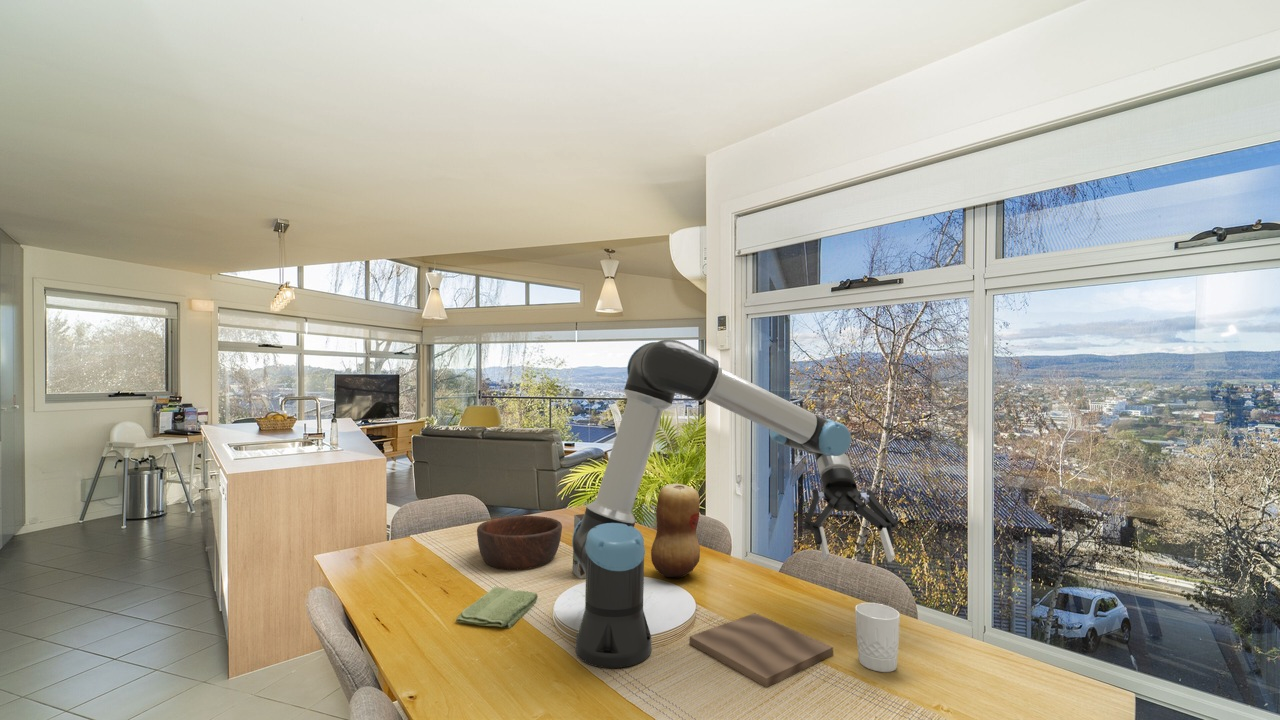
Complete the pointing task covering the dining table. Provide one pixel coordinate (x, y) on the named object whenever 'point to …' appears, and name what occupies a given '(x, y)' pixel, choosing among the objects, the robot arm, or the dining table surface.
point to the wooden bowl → (519, 541)
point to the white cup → (877, 636)
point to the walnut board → (761, 648)
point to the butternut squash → (676, 531)
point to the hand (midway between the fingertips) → (859, 558)
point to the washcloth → (498, 608)
